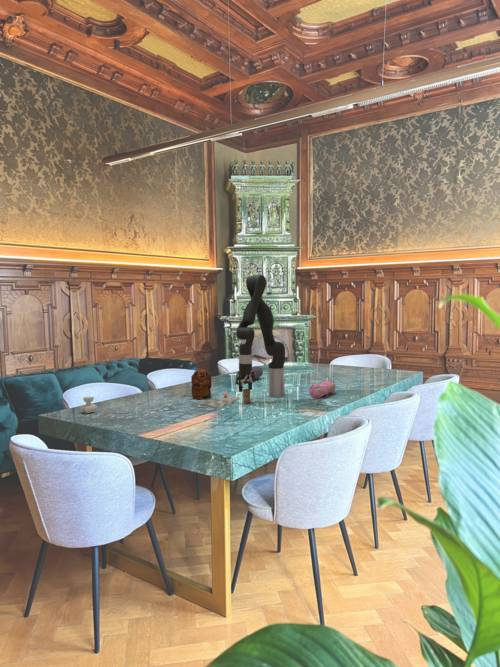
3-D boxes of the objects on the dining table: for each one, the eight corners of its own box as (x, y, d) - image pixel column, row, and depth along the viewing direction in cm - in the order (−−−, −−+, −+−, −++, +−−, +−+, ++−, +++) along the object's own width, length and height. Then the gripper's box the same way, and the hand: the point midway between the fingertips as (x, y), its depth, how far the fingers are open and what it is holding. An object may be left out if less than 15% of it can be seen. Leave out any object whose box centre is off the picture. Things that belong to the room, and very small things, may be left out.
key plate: (229, 397, 274) (229, 390, 273) (239, 399, 269) (239, 391, 269) (220, 400, 267) (220, 392, 267) (231, 401, 262) (230, 394, 262)
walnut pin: (246, 402, 261) (245, 388, 260) (251, 403, 258) (251, 389, 258) (241, 403, 258) (241, 389, 257) (247, 404, 255) (247, 390, 255)
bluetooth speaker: (247, 383, 318) (246, 369, 318) (236, 382, 323) (235, 369, 323) (263, 378, 337) (263, 365, 337) (253, 378, 342) (253, 364, 342)
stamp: (93, 410, 249) (93, 394, 248) (99, 411, 244) (99, 396, 244) (78, 413, 243) (77, 397, 242) (83, 415, 238) (83, 399, 237)
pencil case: (323, 392, 286) (323, 377, 285) (337, 393, 281) (337, 379, 280) (307, 398, 268) (307, 383, 268) (321, 400, 263) (321, 384, 263)
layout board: (215, 400, 267) (215, 398, 267) (234, 403, 258) (234, 400, 258) (199, 405, 256) (199, 402, 256) (218, 408, 247) (218, 405, 247)
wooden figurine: (195, 400, 268) (194, 370, 266) (191, 398, 273) (190, 369, 272) (213, 398, 274) (212, 368, 273) (208, 396, 279) (207, 367, 278)
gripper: (242, 364, 249) (242, 393, 250) (258, 361, 260) (258, 389, 261) (232, 363, 253) (232, 391, 254) (248, 360, 264) (248, 388, 265)
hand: (245, 390), depth 258 cm, fingers open, 8 cm apart
